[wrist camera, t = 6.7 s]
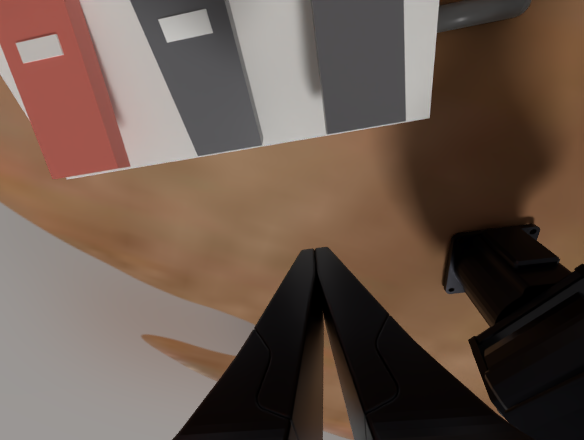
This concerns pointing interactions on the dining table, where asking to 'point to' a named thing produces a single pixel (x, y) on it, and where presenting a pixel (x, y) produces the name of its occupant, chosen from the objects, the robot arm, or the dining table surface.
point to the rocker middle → (203, 71)
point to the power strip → (255, 69)
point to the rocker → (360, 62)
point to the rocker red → (61, 86)
